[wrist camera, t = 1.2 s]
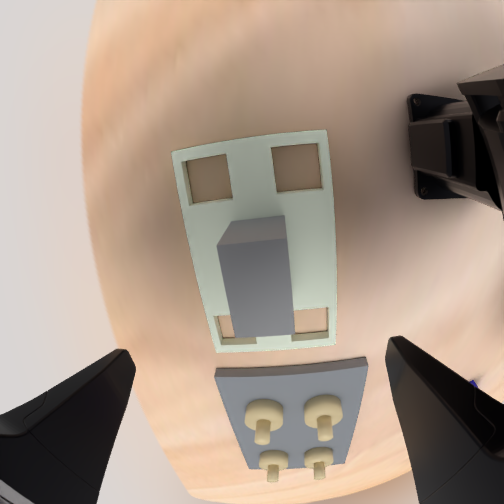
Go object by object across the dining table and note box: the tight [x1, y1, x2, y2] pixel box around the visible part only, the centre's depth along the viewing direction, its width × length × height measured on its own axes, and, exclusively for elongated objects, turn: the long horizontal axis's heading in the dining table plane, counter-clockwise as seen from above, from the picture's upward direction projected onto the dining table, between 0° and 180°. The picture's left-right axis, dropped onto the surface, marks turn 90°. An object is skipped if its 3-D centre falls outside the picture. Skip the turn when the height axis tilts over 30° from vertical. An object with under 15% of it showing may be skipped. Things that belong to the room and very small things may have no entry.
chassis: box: [214, 357, 368, 482], centre depth 21 cm, size 12×19×4 cm, turn 8°
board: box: [171, 130, 337, 353], centre depth 15 cm, size 9×14×5 cm, turn 8°
